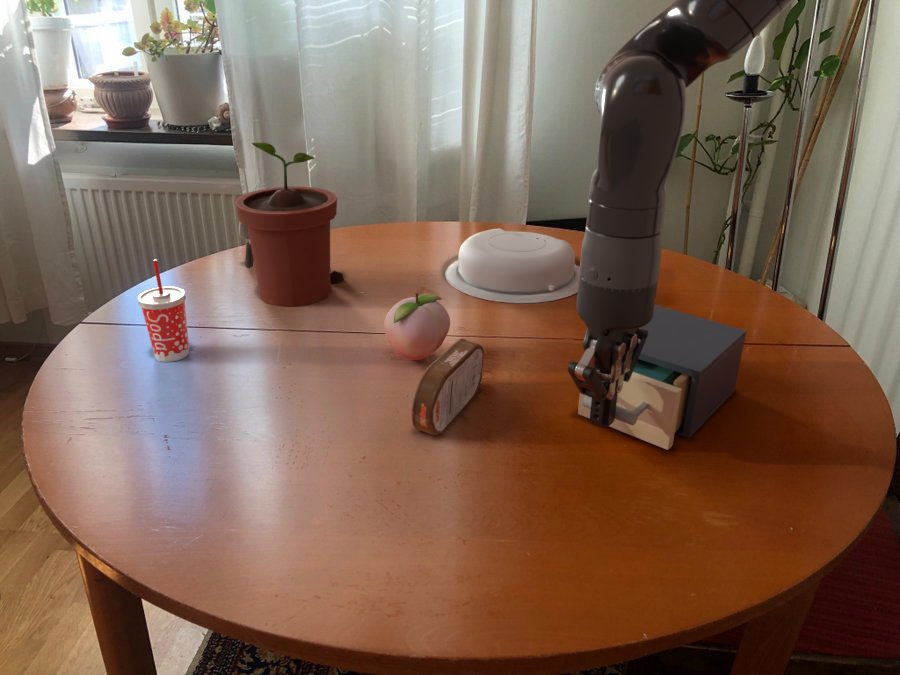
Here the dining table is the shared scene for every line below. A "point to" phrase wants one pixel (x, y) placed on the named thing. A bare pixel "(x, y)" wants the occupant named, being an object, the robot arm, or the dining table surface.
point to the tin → (447, 386)
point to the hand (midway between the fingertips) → (601, 422)
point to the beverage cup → (165, 320)
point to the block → (654, 372)
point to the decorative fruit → (417, 326)
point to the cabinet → (695, 359)
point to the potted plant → (289, 239)
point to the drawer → (648, 408)
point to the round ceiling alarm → (515, 267)
